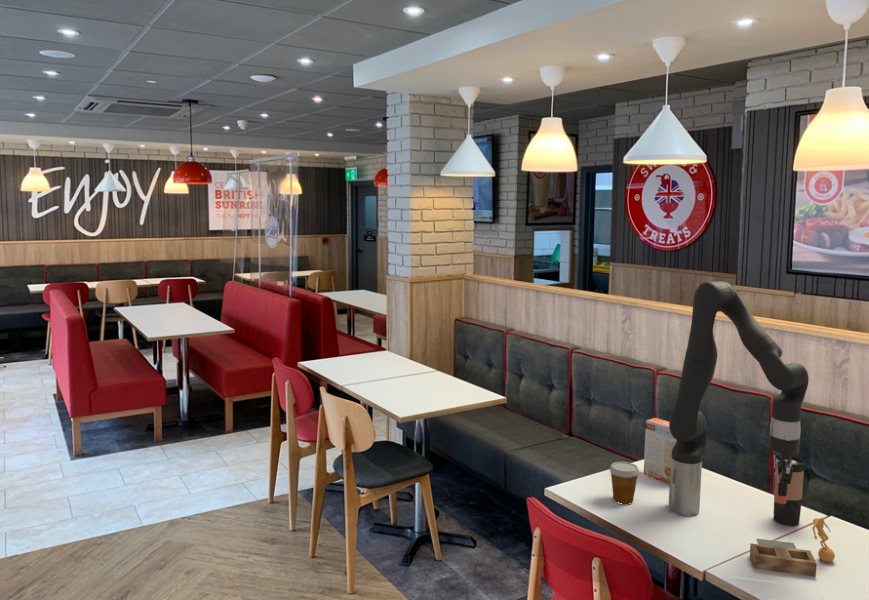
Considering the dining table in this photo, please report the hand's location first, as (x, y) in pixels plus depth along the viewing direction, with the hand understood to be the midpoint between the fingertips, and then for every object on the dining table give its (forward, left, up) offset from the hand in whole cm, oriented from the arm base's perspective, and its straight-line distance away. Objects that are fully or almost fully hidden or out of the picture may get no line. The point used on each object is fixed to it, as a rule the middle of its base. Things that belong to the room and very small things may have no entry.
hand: (780, 492), depth 194 cm
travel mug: (+6, +20, -17) cm, 27 cm away
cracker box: (-29, +45, -17) cm, 56 cm away
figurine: (+11, -3, -17) cm, 21 cm away
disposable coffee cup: (-43, +22, -17) cm, 51 cm away
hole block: (-1, -10, -17) cm, 20 cm away
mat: (0, +1, -17) cm, 17 cm away
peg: (0, 0, -3) cm, 3 cm away
